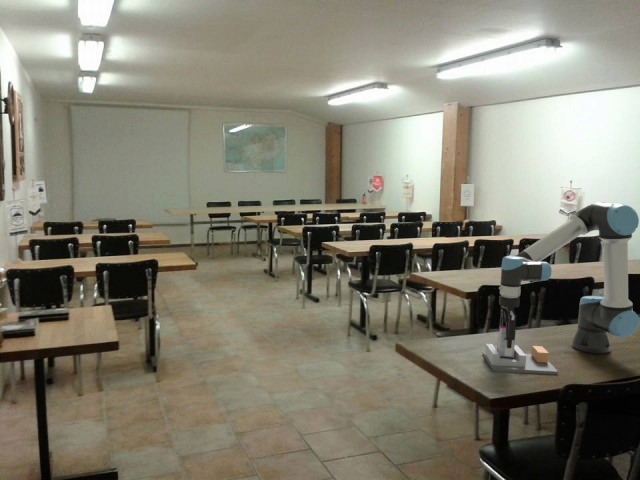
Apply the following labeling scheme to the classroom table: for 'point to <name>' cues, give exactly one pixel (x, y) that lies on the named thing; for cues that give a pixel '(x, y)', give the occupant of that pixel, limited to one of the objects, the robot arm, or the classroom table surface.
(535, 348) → the block
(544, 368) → the block
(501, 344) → the supplement box
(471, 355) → the classroom table surface
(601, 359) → the classroom table surface
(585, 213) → the robot arm
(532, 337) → the classroom table surface
